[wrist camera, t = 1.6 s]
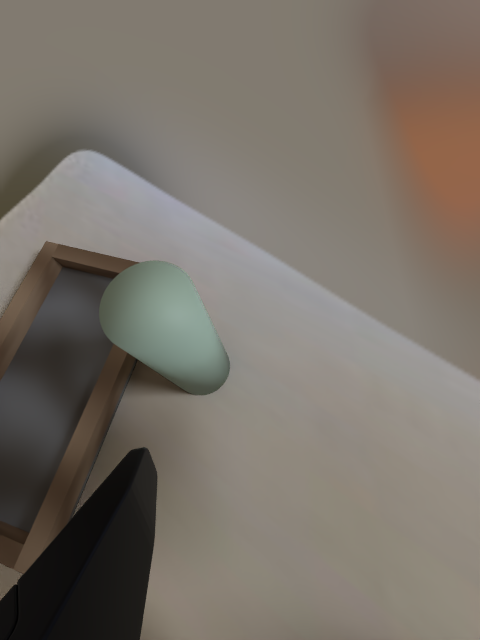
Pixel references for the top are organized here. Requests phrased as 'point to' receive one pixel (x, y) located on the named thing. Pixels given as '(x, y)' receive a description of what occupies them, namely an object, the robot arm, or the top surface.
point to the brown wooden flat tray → (54, 395)
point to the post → (165, 326)
